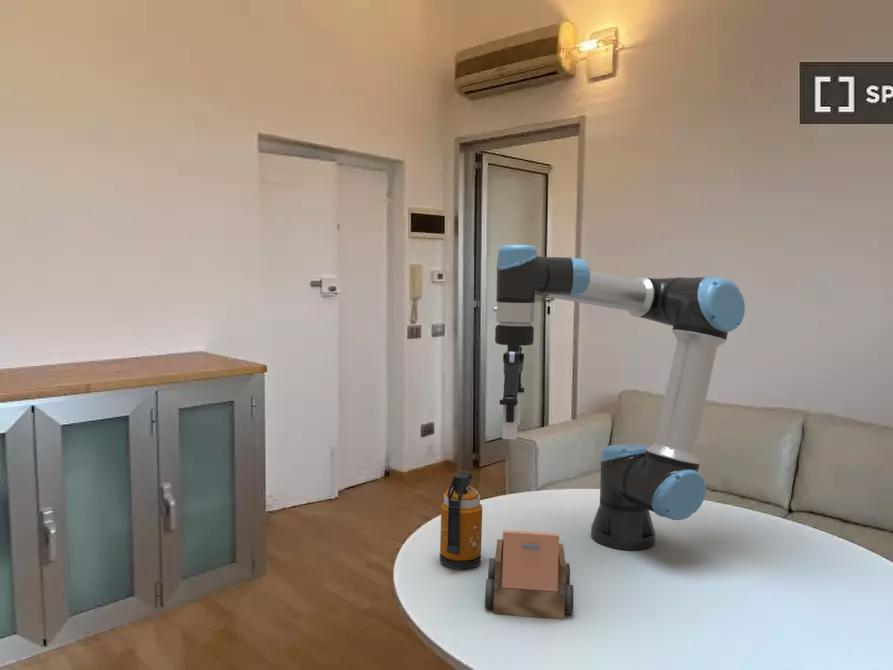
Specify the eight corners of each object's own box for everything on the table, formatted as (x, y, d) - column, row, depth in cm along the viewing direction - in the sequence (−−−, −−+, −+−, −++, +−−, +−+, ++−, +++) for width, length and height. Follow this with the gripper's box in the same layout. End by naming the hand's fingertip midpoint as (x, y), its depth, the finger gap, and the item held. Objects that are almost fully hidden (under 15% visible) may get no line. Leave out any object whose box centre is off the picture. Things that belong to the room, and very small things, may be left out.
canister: (485, 558, 151) (488, 470, 149) (471, 578, 140) (473, 483, 139) (447, 552, 154) (449, 465, 152) (430, 571, 143) (432, 478, 142)
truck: (567, 582, 139) (569, 534, 139) (573, 621, 123) (575, 568, 122) (489, 576, 141) (490, 529, 140) (484, 614, 125) (486, 561, 124)
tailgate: (556, 588, 124) (558, 533, 123) (557, 592, 122) (559, 536, 122) (502, 584, 125) (504, 529, 124) (502, 588, 124) (503, 533, 123)
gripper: (500, 320, 145) (497, 418, 146) (489, 327, 120) (486, 444, 122) (535, 321, 144) (532, 419, 145) (532, 328, 119) (528, 446, 121)
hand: (511, 431), depth 134 cm, fingers open, 13 cm apart
